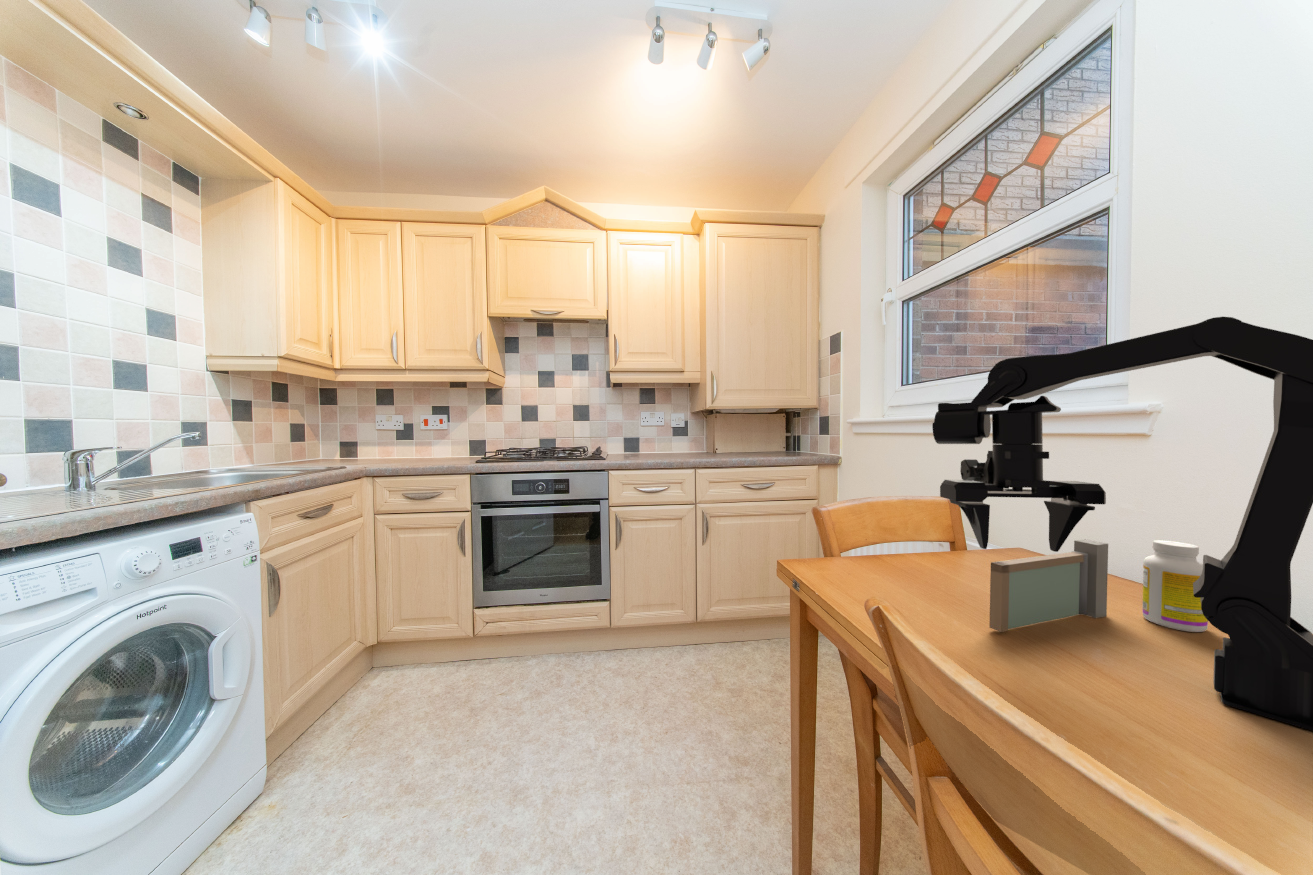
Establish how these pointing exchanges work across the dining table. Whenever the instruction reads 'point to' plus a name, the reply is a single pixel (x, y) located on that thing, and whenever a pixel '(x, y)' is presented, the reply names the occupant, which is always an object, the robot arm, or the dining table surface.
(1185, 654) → the dining table surface
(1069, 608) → the gate
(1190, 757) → the dining table surface
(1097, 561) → the gatepost
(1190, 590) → the supplement bottle
